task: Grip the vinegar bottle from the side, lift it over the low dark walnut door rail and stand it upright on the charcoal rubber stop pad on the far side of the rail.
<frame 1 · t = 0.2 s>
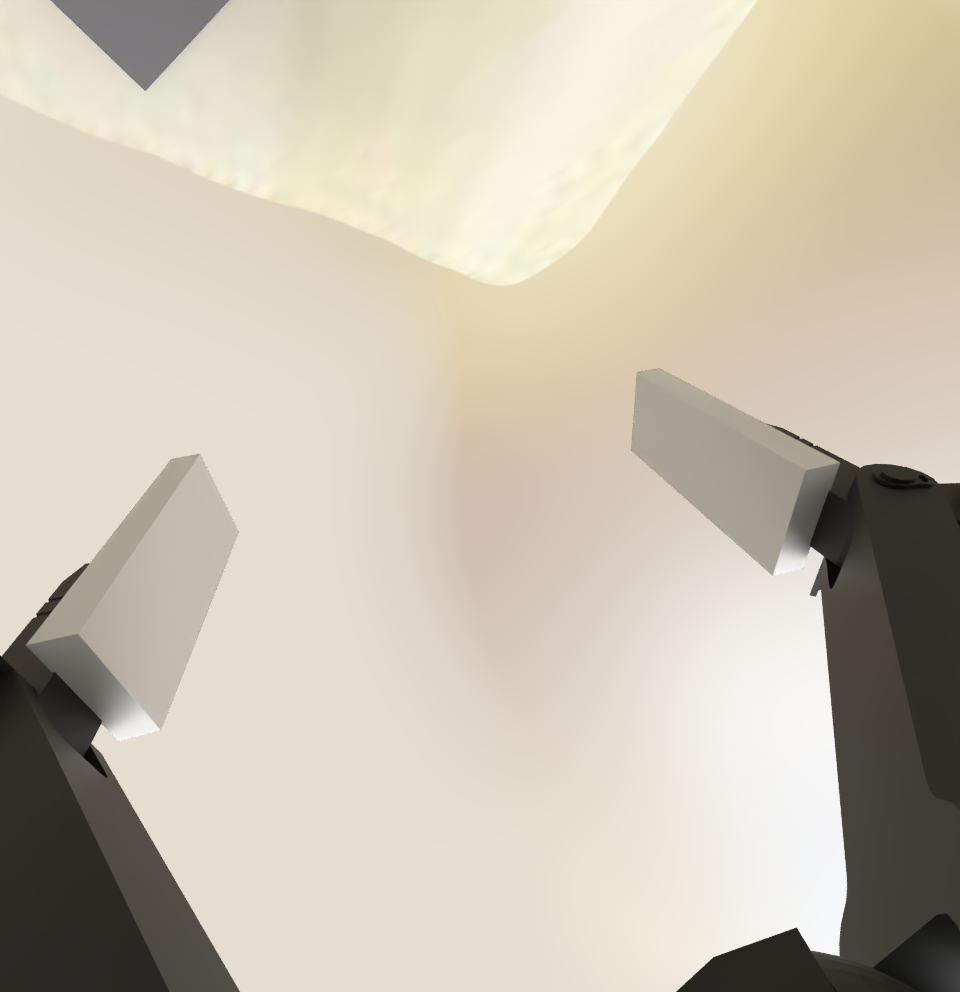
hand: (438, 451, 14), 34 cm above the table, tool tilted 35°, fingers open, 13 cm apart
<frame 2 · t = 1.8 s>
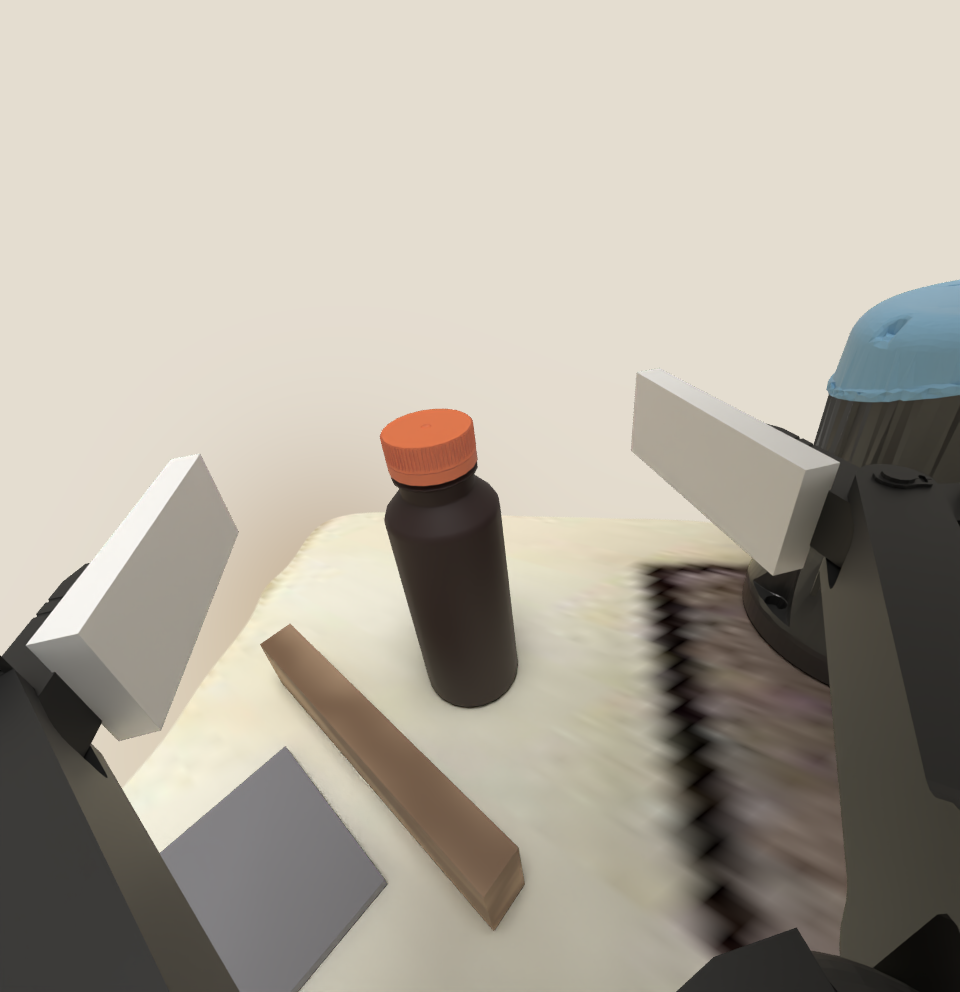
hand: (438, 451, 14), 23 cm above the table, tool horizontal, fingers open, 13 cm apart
stop pad: (243, 897, 25), on the table
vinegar: (473, 669, 35), on the table
door rail: (378, 762, 30), on the table
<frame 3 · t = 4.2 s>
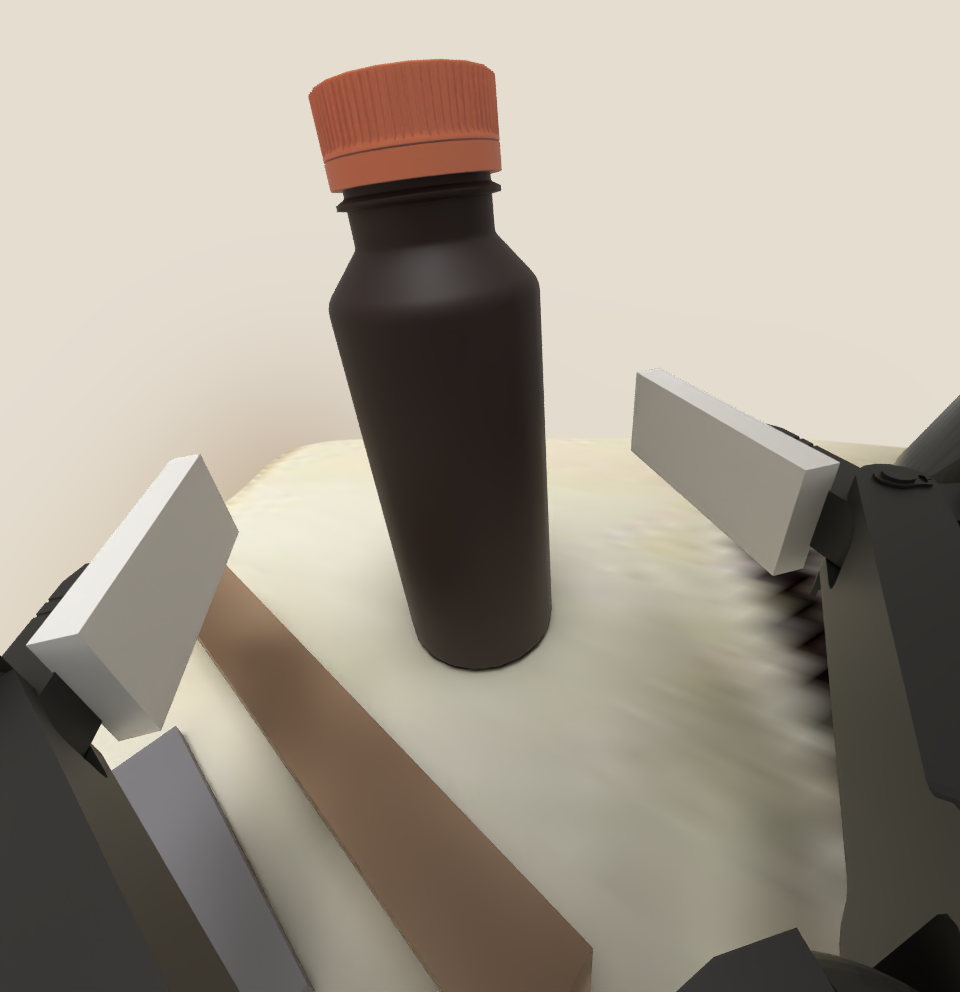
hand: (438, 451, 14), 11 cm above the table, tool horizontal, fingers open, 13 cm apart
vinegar: (483, 617, 23), on the table
door rail: (323, 755, 18), on the table
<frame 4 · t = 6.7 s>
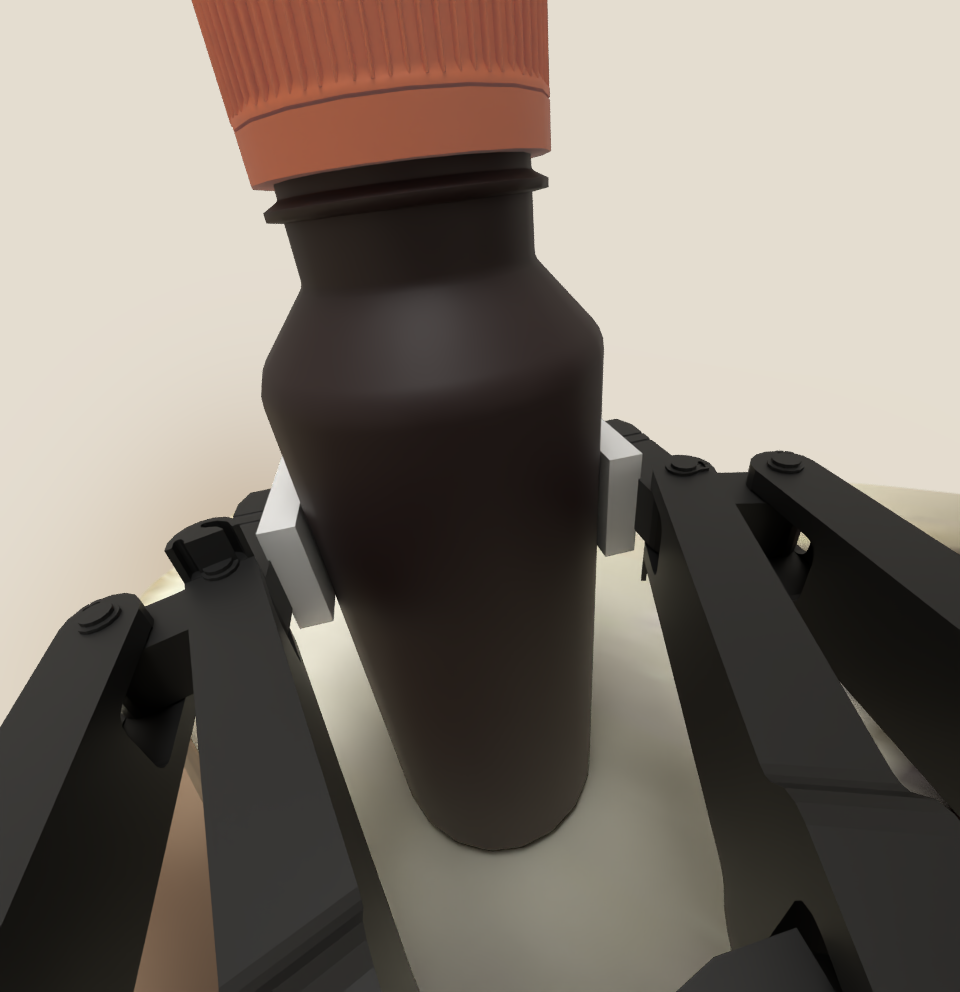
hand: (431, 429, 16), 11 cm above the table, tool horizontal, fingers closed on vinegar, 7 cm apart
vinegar: (497, 751, 17), on the table, touching gripper
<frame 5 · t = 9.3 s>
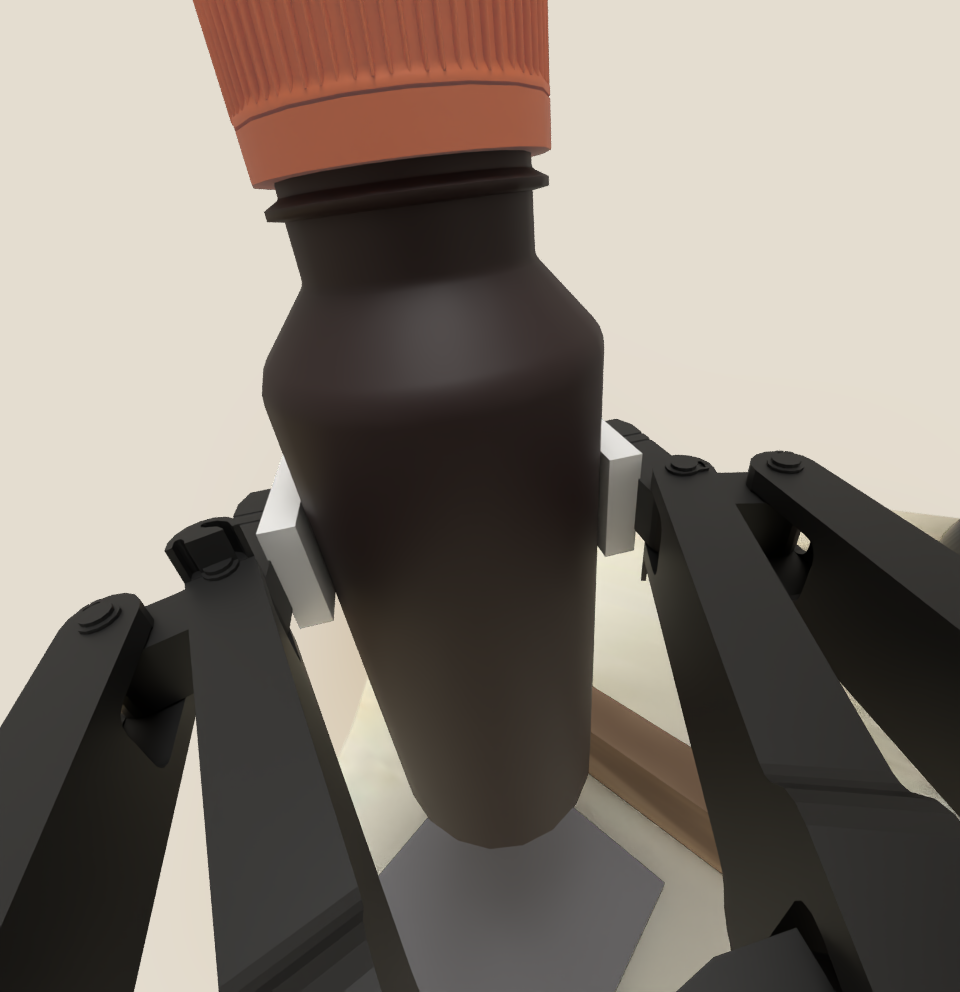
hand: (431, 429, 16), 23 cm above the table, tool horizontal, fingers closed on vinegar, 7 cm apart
stop pad: (504, 903, 23), on the table
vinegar: (498, 750, 17), point 12 cm above the table, touching gripper
door rail: (600, 757, 28), on the table
when the fingers open (13 cm above the table, at t = 12.0 s): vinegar drops 1 cm, resting on stop pad.
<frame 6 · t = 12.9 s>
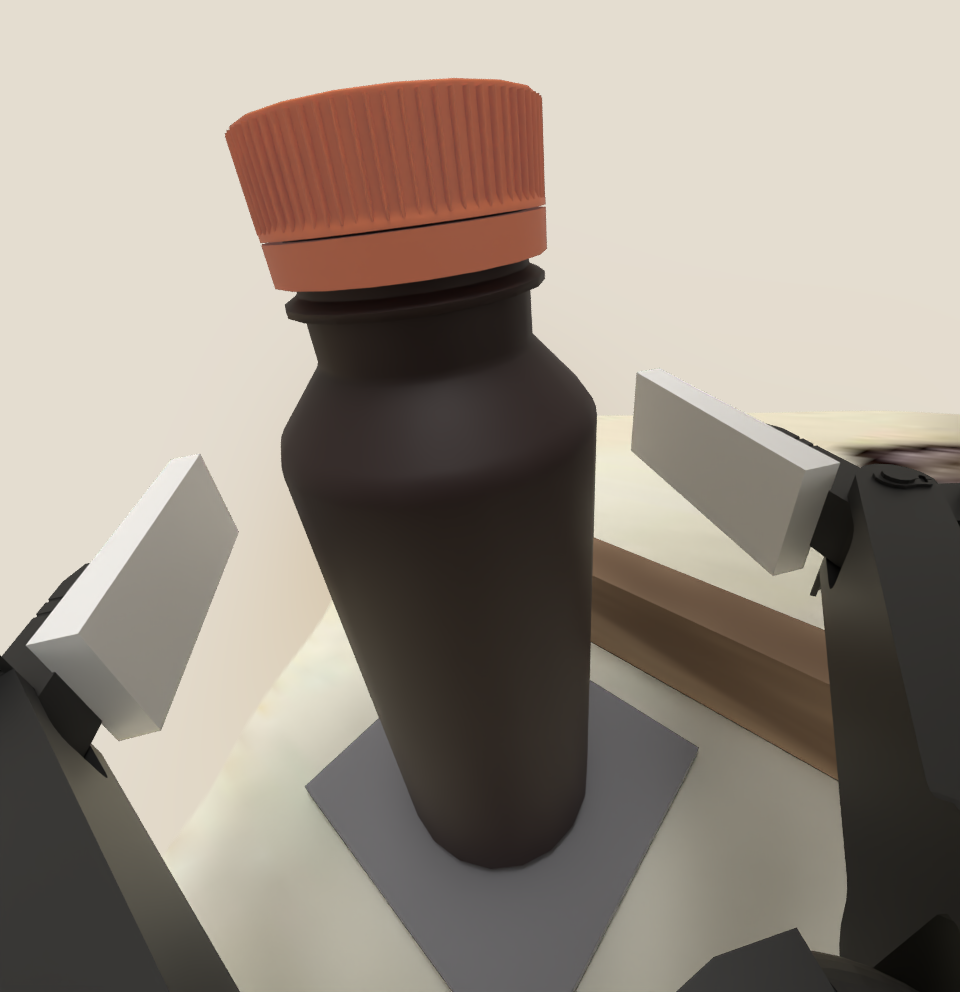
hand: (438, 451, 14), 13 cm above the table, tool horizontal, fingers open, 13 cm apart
stop pad: (500, 775, 18), on the table
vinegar: (499, 770, 18), resting on stop pad
door rail: (614, 632, 24), on the table
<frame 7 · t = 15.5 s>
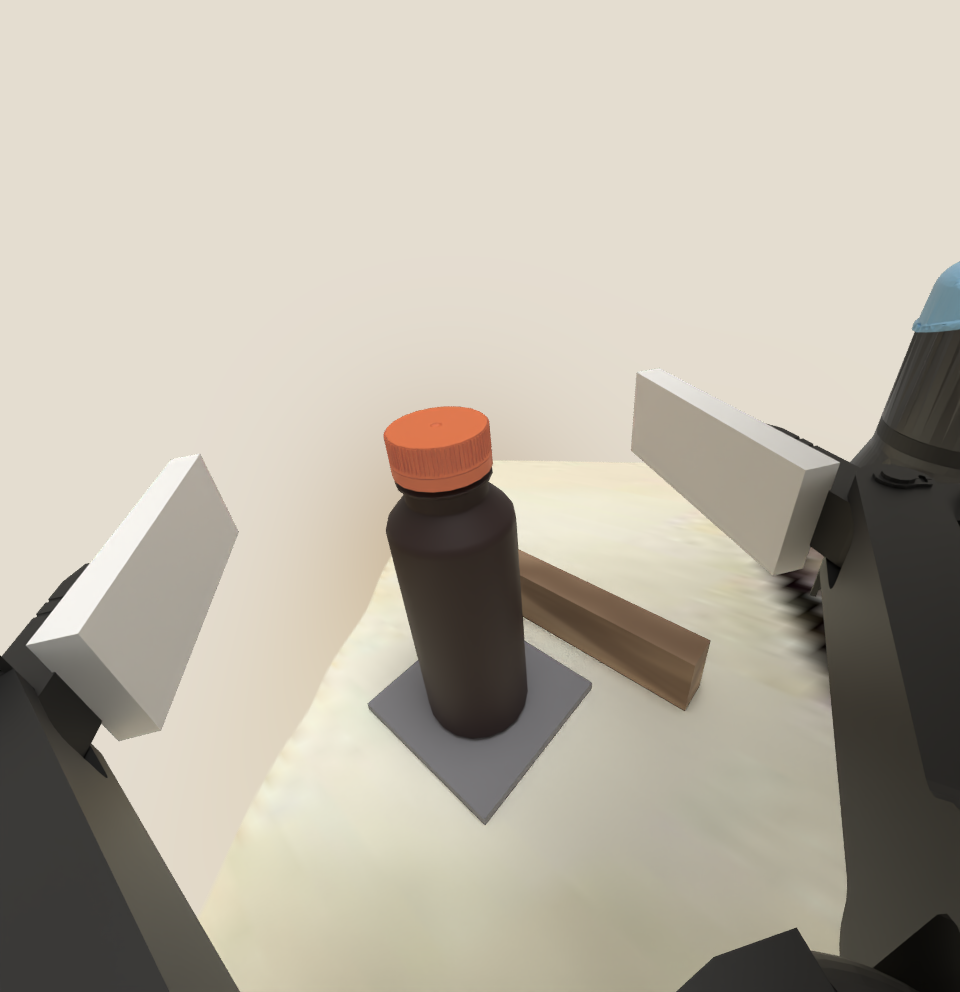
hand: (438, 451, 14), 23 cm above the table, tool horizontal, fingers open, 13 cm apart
stop pad: (479, 698, 32), on the table
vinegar: (478, 695, 32), resting on stop pad
door rail: (555, 620, 37), on the table
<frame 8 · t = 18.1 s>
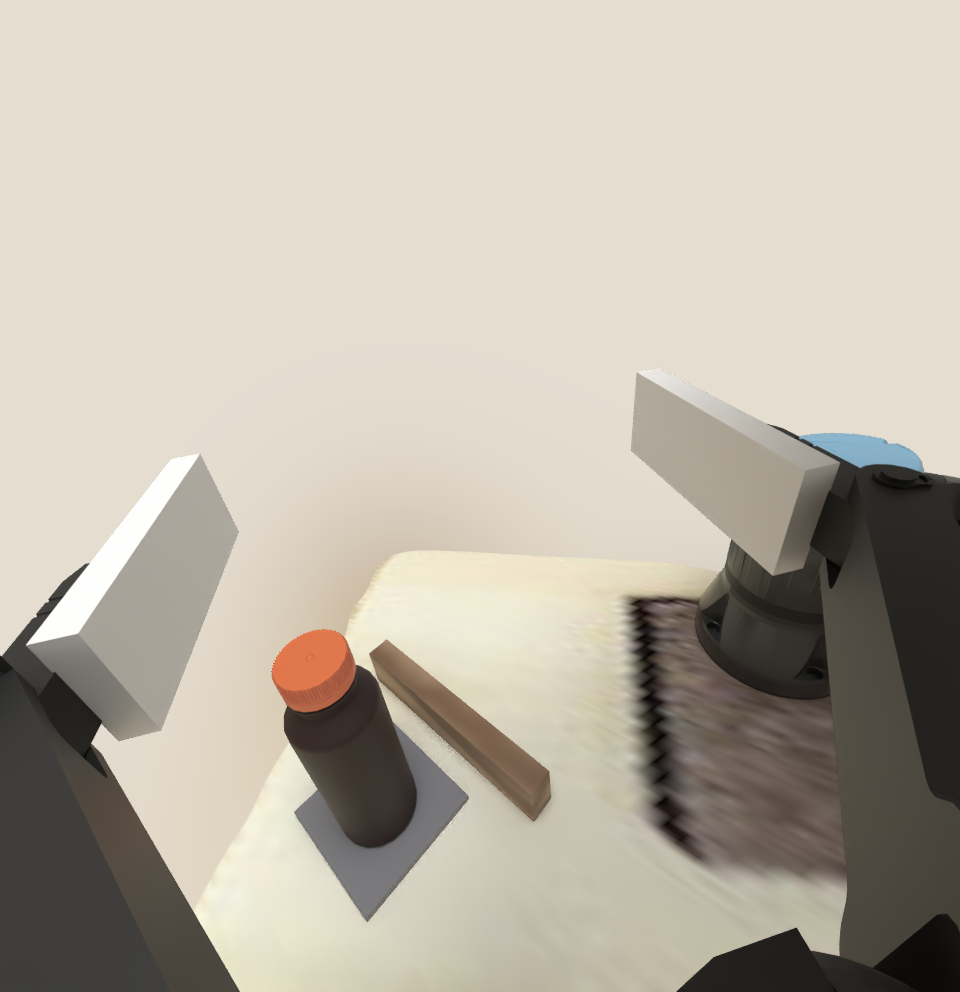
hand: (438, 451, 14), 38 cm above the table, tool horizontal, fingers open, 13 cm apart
stop pad: (381, 807, 41), on the table
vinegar: (380, 805, 41), resting on stop pad
door rail: (453, 730, 46), on the table
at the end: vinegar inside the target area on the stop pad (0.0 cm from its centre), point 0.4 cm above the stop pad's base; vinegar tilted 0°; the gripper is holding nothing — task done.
